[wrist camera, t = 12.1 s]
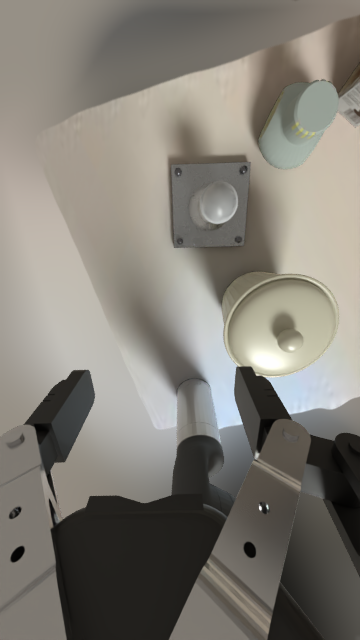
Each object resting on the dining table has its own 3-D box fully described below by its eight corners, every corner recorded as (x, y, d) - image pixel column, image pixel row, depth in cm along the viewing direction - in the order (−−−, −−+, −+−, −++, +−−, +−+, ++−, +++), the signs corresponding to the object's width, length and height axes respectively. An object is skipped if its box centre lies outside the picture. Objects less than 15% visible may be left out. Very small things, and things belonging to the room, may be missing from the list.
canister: (249, 348, 55) (287, 414, 36) (194, 305, 51) (203, 354, 31) (306, 293, 50) (389, 336, 30) (250, 240, 45) (305, 250, 26)
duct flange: (241, 245, 46) (244, 246, 43) (174, 247, 46) (174, 248, 44) (248, 164, 40) (252, 160, 38) (171, 166, 40) (171, 163, 38)
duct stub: (226, 190, 40) (239, 180, 31) (225, 223, 42) (236, 223, 34) (195, 191, 40) (200, 181, 31) (195, 224, 42) (199, 224, 34)
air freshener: (286, 180, 41) (316, 166, 32) (247, 158, 40) (268, 137, 31) (323, 112, 37) (370, 74, 28) (282, 85, 36) (318, 36, 27)
